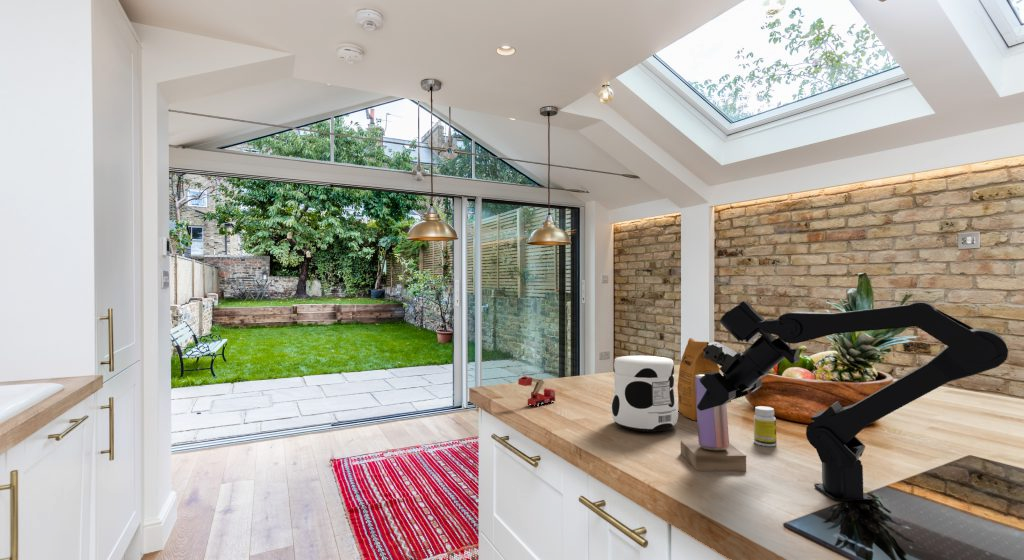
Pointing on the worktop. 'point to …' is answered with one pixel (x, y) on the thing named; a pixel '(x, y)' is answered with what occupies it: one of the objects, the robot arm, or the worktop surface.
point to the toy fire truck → (535, 396)
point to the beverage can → (711, 422)
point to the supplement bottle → (764, 426)
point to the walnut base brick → (712, 457)
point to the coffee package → (692, 376)
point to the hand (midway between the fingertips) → (704, 406)
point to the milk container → (644, 393)
